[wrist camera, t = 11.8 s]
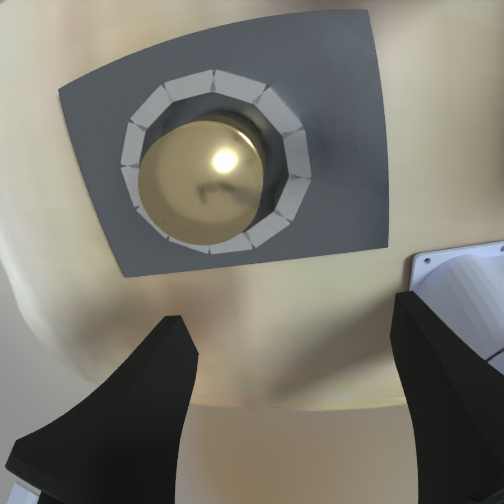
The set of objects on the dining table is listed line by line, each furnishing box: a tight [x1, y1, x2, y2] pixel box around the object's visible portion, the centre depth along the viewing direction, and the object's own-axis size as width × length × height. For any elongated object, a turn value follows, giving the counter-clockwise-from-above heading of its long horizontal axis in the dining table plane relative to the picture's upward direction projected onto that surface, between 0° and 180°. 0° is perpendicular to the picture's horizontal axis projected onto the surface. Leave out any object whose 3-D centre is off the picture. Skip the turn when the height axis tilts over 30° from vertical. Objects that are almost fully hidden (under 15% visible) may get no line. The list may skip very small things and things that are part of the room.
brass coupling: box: [138, 112, 267, 246], centre depth 14 cm, size 5×5×5 cm
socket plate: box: [58, 10, 389, 278], centre depth 15 cm, size 18×14×3 cm
